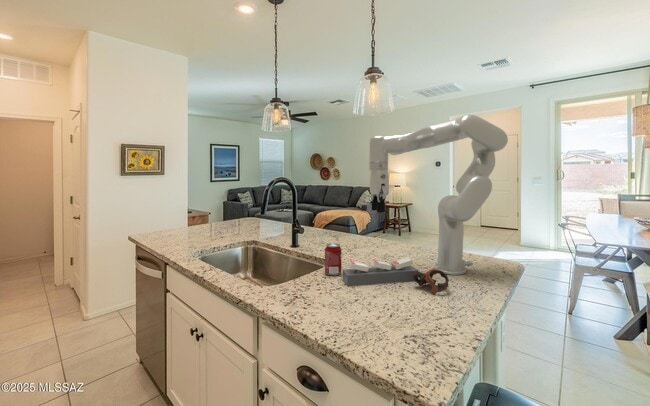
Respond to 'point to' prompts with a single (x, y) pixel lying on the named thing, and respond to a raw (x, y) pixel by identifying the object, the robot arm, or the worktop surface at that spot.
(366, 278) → the power strip
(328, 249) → the soda can
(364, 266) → the rocker
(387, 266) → the rocker
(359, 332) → the worktop surface
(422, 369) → the worktop surface
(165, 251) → the worktop surface
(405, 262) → the rocker
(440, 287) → the brown looped band
